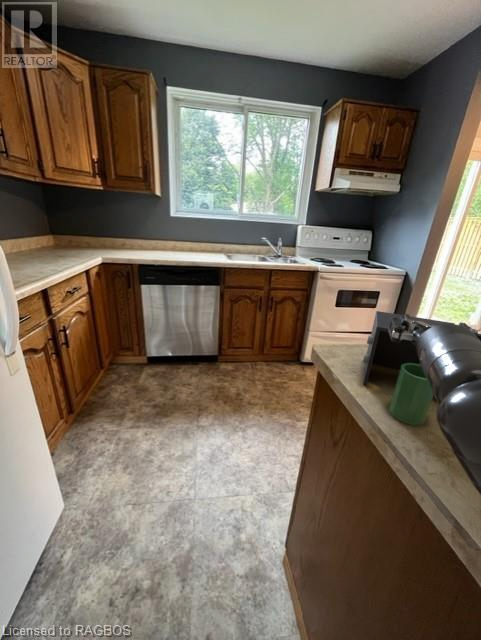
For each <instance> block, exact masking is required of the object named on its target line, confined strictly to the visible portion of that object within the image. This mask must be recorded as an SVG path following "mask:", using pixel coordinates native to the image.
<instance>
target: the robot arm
mask: <svg viewBox="0 0 481 640" xmlns="http://www.w3.org/2000/svg"><path fill="white" fill-rule="evenodd" d="M403 315H404V316H401V317H400V320H399V319H398V318H396V317H392V318H391V323H390V327H389V329H388V332H389V335H390V338H391V341H393V342H395V343H399V342H400V340H402V339H405V340H410V341H411V343H412V344H414V345H415V346H416V351H417V355H418V358H419V361H420V366H421V367H422V370H423V373H424V375H425V377H426V379H427V380H428V382H429V383H430V386H431V388H432V391H433V394H434V396H433V398H434V399H435V401H436V403H437V405H438V407H437V410H436V422H437V425H438V428H439V430H440V432H441V434H442V436H443V437H444V439H445V441H446V442H447V444H448V446H449V447H450V449H451V451H452V453H453V454H454V456H455V457H456V459H457V461H458V463H459V464H460V466H461V468H462V469H463V471H464V473H465V475H466V476H467V478H468V480H469V482H470V483H471V484H472V486H473V487H474V489H475V490H476V491H477V493H478V494H479V495H480V496H481V333H479V330H477V329H476V328H472V327H471V326H469V325H468V324H467V323H466V322H459V323H458V324H456V323H454V324H442V325H437V326H431V325H429V324H426V323H424V322H422V321H412V320H411V318H410V316H411V315H410V314H409V313H404V314H403ZM409 326H411V328H410V331H408V330H409ZM420 327H421V328H423V329H420Z"/></svg>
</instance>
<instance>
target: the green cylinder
mask: <svg viewBox="0 0 481 640" xmlns="http://www.w3.org/2000/svg"><path fill="white" fill-rule="evenodd" d="M433 399H434V394H433V391H432V388H431V386H430V383H429V382H428V380H427V379H426V377H425V375H424V373H423V370H422V367H421V366H420V364H415V363H405V364H403V365H401V368H400V371H399V372H398V376H397V379H396V382H395V385H394V390H393V393H392V396H391V400H390V404H389V409H388V410H389V413H390V414H391V416H393V417H394V418H395V419H396V420H398V421H400V422H402V423H403V424H407V425H411V426H422V425H423V424H424V423H425V421H426V419H427V417H428V414H429V410H430V408H431V405H432V402H433Z"/></svg>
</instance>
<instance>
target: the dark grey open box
mask: <svg viewBox="0 0 481 640" xmlns="http://www.w3.org/2000/svg"><path fill="white" fill-rule="evenodd" d="M404 315H405V314H399V313H392V312H385V311H381V310H380V311H379V310H376V312H375V315H374V320H373V325H372V329H371V333H370V334H368V336H367V340H366V344H368V346H367V351H366V353H364V354H363V357H362V363H364V368H363V381H362V384H363V386H368V383H369V378H370V374H371V370H372V366H378V367H381V368H386V369H390V370H395V371H399V372H400V368H401V365H403V364H405V363H415V364H420V361H419V358H418V355H417V351H416V346H415V345H414V344H412V343H411V341H410V340H405V339H402V340H400V342H399V343H395V342H393V341H391V338H390V335H389V332H388V329H389V327H390V323H391V318H392V317H396V318H398V319H399V320H400V317H401V316H404ZM410 318H411V320H412V321H422V322H424V323H426V324H429V325H431V326H437V325H442V324H455V323H454V322H449V321H443V320H436V319H430V318H423V317H418V316H411V315H410ZM410 328H411V326H409V330H408V331H410ZM420 329H423V328H421V327H420Z"/></svg>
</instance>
